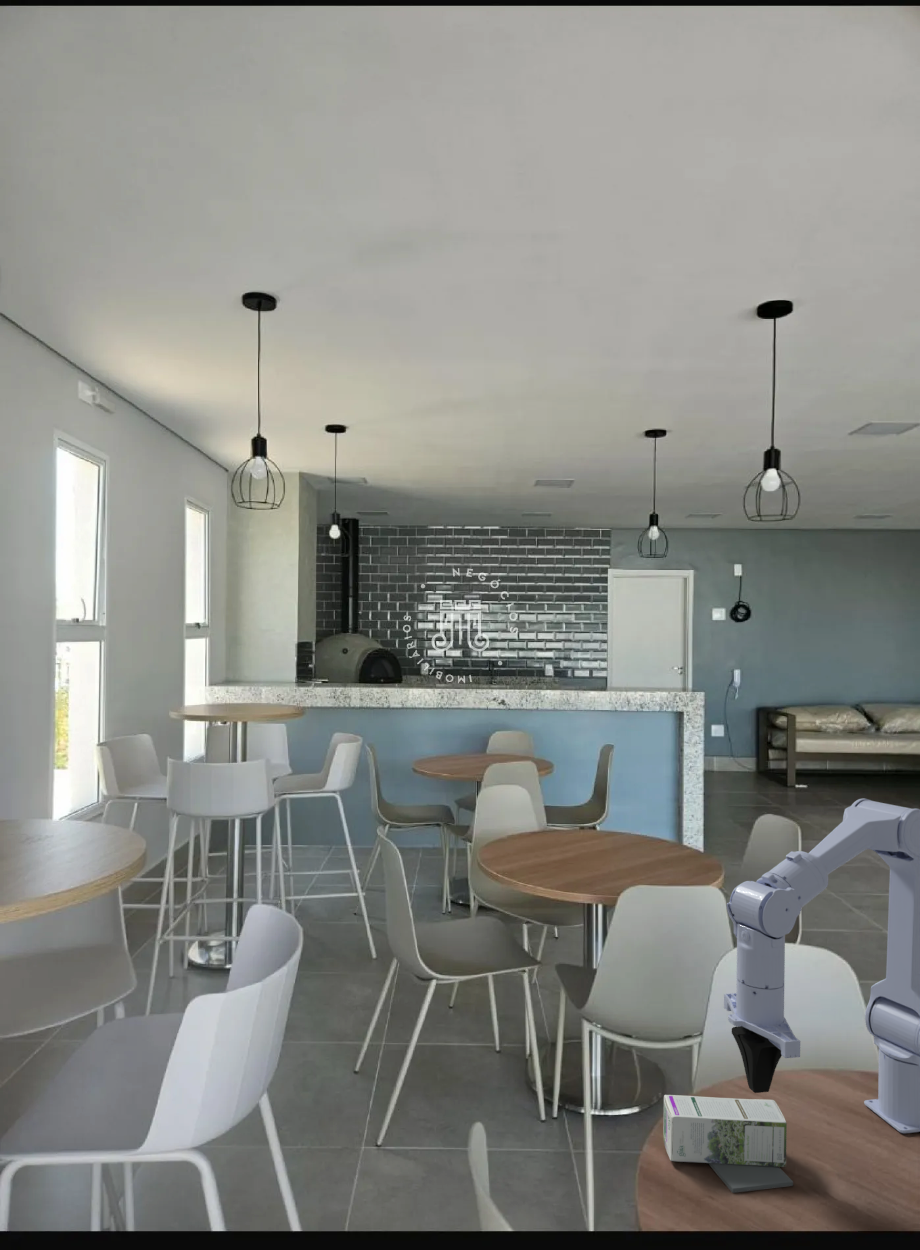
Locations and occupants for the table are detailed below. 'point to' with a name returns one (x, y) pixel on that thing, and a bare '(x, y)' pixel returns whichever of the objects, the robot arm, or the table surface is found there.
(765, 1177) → the pad
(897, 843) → the robot arm
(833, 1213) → the table surface
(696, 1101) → the syrup box
